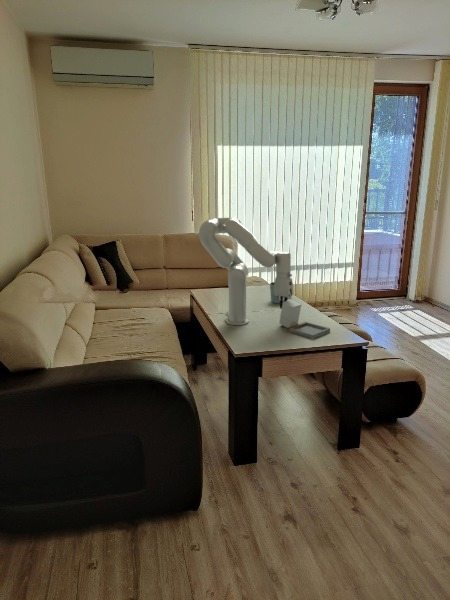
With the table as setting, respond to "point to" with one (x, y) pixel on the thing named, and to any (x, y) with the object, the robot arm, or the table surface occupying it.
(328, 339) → the table surface
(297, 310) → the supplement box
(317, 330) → the grey rubber tray
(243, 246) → the robot arm
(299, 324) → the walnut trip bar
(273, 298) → the drinking glass
